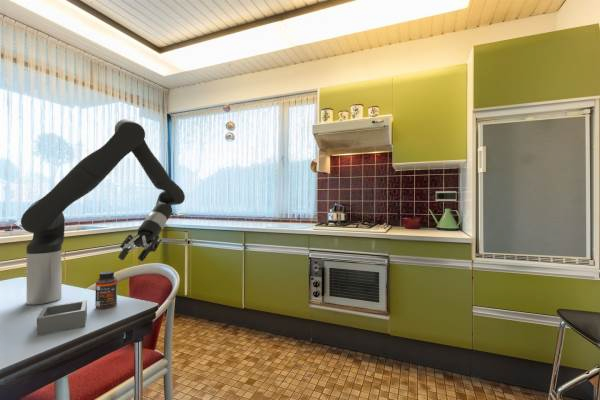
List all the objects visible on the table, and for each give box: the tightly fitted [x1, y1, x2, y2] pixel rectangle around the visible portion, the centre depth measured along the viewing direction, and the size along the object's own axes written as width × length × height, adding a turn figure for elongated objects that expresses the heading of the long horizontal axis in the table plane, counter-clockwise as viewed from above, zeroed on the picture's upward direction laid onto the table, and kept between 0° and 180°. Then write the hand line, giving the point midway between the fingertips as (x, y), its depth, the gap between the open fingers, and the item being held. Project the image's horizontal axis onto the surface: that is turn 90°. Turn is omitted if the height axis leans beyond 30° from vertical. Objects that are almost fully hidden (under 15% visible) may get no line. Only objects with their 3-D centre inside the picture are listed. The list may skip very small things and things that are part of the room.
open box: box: [36, 299, 88, 337], centre depth 81 cm, size 10×10×4 cm
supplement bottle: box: [94, 270, 118, 310], centre depth 95 cm, size 6×6×11 cm
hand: (130, 259), depth 104 cm, fingers open, 8 cm apart
